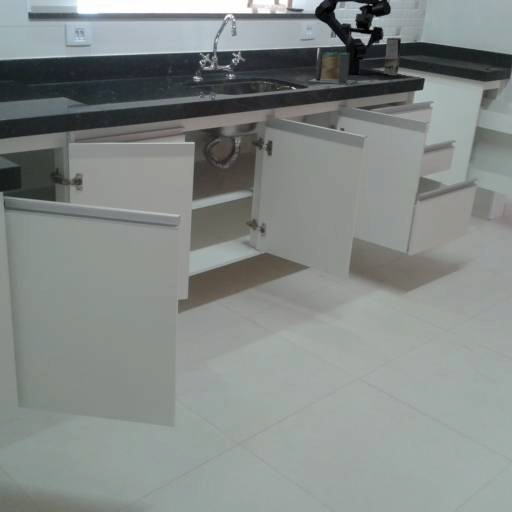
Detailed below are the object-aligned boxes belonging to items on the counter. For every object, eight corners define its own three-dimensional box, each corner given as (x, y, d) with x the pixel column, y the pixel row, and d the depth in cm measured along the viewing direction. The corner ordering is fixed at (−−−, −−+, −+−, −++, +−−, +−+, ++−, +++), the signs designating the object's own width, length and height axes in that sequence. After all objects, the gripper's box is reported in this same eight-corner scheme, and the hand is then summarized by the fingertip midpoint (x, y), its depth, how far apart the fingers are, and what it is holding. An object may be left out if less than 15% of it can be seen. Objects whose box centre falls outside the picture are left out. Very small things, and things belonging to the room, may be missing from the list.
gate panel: (321, 79, 307) (323, 52, 302) (321, 79, 308) (322, 52, 304) (348, 79, 308) (349, 53, 304) (347, 79, 309) (349, 53, 305)
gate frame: (314, 81, 307) (316, 47, 301) (317, 81, 309) (318, 47, 303) (344, 84, 300) (347, 50, 295) (347, 84, 302) (349, 49, 297)
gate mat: (309, 81, 306) (309, 80, 306) (317, 78, 315) (317, 77, 315) (349, 85, 299) (349, 83, 299) (356, 81, 309) (356, 80, 309)
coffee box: (397, 75, 332) (401, 39, 326) (383, 74, 333) (386, 39, 327) (398, 73, 340) (401, 37, 334) (384, 72, 341) (387, 37, 335)
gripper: (343, 4, 314) (333, 33, 311) (385, 8, 308) (375, 38, 304) (347, 20, 325) (337, 49, 321) (387, 24, 318) (378, 54, 314)
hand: (356, 47), depth 315 cm, fingers open, 9 cm apart
